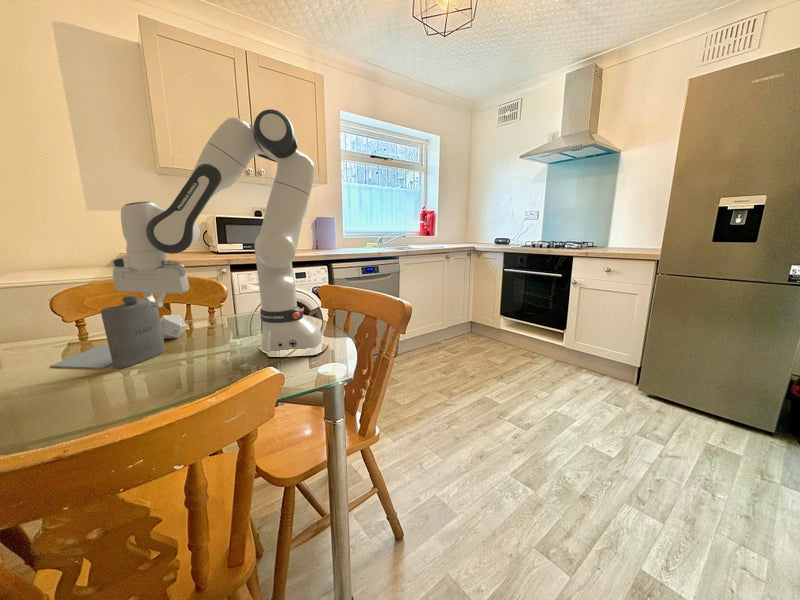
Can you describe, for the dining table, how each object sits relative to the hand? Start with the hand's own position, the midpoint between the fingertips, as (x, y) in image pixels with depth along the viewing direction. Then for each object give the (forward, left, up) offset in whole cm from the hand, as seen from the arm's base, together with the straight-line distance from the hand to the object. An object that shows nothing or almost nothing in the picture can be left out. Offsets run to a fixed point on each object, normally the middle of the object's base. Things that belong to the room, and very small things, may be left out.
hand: (156, 306), depth 95 cm
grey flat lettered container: (+8, 0, -17) cm, 19 cm away
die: (+12, -18, -17) cm, 28 cm away
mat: (+21, 0, -17) cm, 27 cm away
